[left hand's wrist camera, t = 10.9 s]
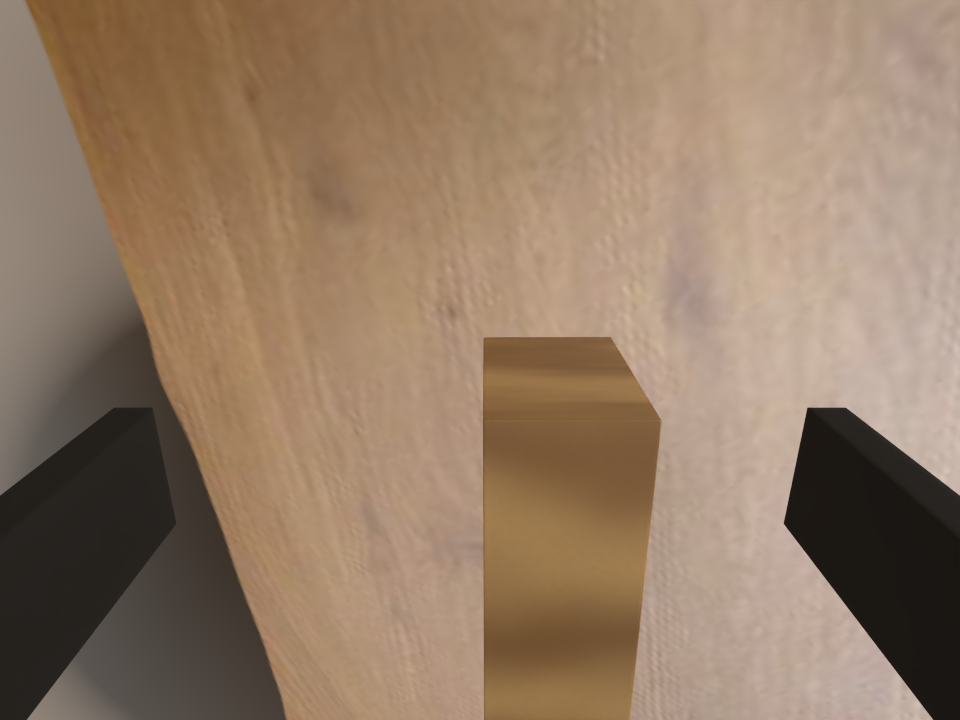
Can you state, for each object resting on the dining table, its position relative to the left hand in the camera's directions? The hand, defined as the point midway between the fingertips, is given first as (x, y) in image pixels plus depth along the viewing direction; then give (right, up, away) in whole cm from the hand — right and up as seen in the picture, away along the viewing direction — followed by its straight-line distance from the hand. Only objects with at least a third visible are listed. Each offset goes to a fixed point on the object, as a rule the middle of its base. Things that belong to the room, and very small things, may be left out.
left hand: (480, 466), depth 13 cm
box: (+3, -10, +21) cm, 23 cm away
